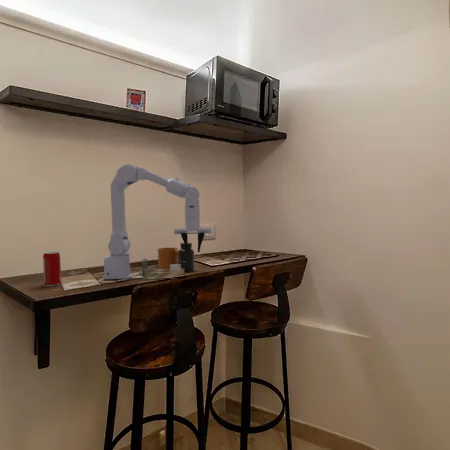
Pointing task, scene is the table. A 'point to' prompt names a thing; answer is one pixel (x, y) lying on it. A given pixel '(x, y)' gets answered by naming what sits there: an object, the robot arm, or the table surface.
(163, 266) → the mug
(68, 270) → the table surface
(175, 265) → the carriage
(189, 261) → the supplement bottle
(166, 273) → the gauge bed
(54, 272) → the soda can
